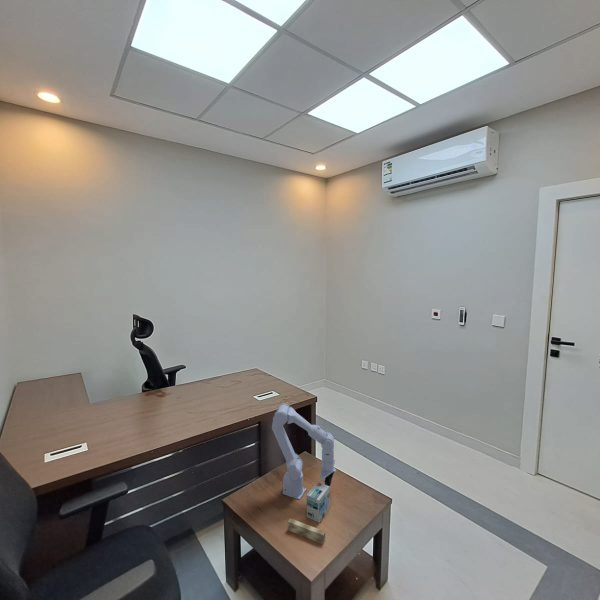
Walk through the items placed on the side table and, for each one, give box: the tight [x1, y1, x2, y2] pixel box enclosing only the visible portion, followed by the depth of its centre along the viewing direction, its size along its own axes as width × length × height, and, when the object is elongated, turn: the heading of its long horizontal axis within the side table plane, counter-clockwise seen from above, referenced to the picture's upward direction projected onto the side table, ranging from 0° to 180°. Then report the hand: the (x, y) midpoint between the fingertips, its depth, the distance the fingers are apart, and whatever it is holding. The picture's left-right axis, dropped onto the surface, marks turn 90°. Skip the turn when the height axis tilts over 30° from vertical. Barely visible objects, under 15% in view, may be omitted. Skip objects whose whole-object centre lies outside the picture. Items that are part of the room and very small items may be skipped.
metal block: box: [287, 517, 326, 545], centre depth 131 cm, size 16×2×4 cm, turn 64°
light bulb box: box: [306, 481, 331, 524], centre depth 143 cm, size 11×7×11 cm, turn 148°
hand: (327, 485), depth 153 cm, fingers closed
